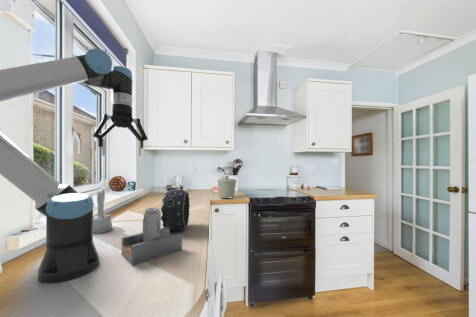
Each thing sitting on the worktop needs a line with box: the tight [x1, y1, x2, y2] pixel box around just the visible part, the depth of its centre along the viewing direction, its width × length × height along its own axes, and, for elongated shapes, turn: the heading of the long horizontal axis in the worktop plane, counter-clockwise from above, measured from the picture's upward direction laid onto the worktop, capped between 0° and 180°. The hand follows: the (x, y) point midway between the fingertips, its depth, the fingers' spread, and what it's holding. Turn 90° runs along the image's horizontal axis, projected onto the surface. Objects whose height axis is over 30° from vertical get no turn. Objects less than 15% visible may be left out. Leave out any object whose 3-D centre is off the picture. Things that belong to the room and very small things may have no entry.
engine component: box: [93, 188, 113, 234], centre depth 108 cm, size 11×20×10 cm
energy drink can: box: [142, 207, 162, 242], centre depth 81 cm, size 6×6×15 cm
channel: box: [121, 227, 183, 266], centre depth 81 cm, size 18×12×6 cm, turn 134°
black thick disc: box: [160, 189, 191, 232], centre depth 107 cm, size 11×20×20 cm, turn 4°
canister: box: [216, 175, 237, 199], centre depth 199 cm, size 18×18×21 cm
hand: (121, 155), depth 89 cm, fingers open, 13 cm apart
